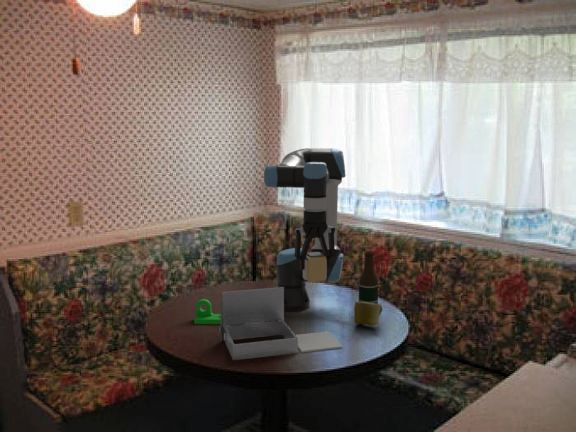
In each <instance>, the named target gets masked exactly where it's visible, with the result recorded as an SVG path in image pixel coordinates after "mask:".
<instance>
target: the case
mask: <svg viewBox="0 0 576 432" xmlns="http://www.w3.org/2000/svg"><path fill="white" fill-rule="evenodd" d="M219 308H220V309H219V311H220V313H219V314H220V318H221V324H220V326H218V327H219V328H218V329H219V333H220V342H221V343H225V345H226V348H227V350H228V352H229V354H230V357H231V359H232V361H239V360H248V359H256V358H265V357H274V356H283V355H292V354H298V353H299V348H298V338H297V337H296V335H297V334H295V333H294V331H293V330H292V329H291V328H290V326H289V325H288V324H287V322H286V321H285V311H284V287H277V286H276V287H265V288H257V289H256V288H255V289H253V288H252V289H247V290H246V289H244V290H241V289H240V290H233V291H231V290H229V291H222V301H220V302H219ZM272 336H273V337H274V336H282V337H284V338H282V339H272V340H263V341H262V340H261V341H254V342H253V341H252V342H244V343H234V341H236V340H243V339H244V340H245V339H255V338H256V339H257V338H262V337H272Z"/></svg>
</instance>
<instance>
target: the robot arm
mask: <svg viewBox="0 0 576 432" xmlns="http://www.w3.org/2000/svg"><path fill="white" fill-rule="evenodd" d="M343 178H346V166H345V159H344V152H343V150H342V149H340V148H333V147H332V148H331V147H328V148H324V147H323V148H321V147H320V148H319V147H318V148H310V147H309V148H306V147H305V148H300V149H297V150H296V149H295V150H294V151H291V152H289V153H287V154H286V155H285V156H284V157H283V158H282V161H281V162H280V163H279V164H277V165H274V164H273V165H266V166H265V167H264V172H263V181H264V186H265V187H267V188H273V189H276V188H298V189H303V209H304V210H303V220H302V221H303V223H302V226H300V227H299V228H294V229H293V230H294V233H295V239H294V240H295V241H294V243H295V244H294V247H293V248H288V249H284V250H282V251H280V252H278V254H276V255H277V257H276V280H277V281H276V287H284V312H285V311H287V312H299V311H303V310H307V309H309V308H310V306H311V300H310V296H309V293H308V291H307V290H308V289H307V286H306V285H307V284H306V282H308V281H307V260H306V259H305V258H306V255H307V253H309V252H308V250H309V247H310V246H311V241H312V240H313V239H315V241H314V245H313V246H312V247H311V249H310V251H311V252H320V253H321V254H323V255H324V256H325V257H326V281H315V283H338V282H339V281H340V279H341V276H342V270H343V264H344V256H345V255H344V254H343V253H341V248H340V247H339V246H338V244H337V241H338V237H337V236H338V202H339V201H338V195H339V194H338V193H339V192H338V191H339V185H341V183H342V182H343ZM303 232H304V233H305V236H304V242H303V244H302V235H303ZM301 246H302V247H301ZM308 283H309V282H308Z"/></svg>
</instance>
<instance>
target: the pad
mask: <svg viewBox="0 0 576 432" xmlns="http://www.w3.org/2000/svg"><path fill="white" fill-rule="evenodd" d="M295 335H296V337H297V338H298V350H299V351H300V352H301V353H302V354H303V353H311V352H319V351H327V350H337V349H338V350H339V349H343V345H342V344H341V342H339V341H338V340H337V339H336V338H335V337H334V336H333V335H332V334H331V332H330V331H329V330H328V331H321V332H320V331H319V332H312V333H311V332H310V333H301V334H300V333H299V334H295Z"/></svg>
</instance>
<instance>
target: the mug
mask: <svg viewBox="0 0 576 432" xmlns="http://www.w3.org/2000/svg"><path fill="white" fill-rule="evenodd" d="M353 309H354V315H353V316H354V323H355V325H365V326H370V327H373V326H378V325H379V317H380V316H381V314H382V312H383V306H382V304H381V303H378V304H376V303H375V304H373V303H367V302H359V301H355V302H354V308H353Z"/></svg>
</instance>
